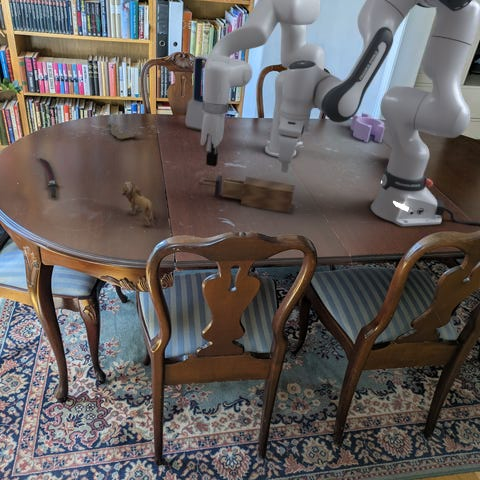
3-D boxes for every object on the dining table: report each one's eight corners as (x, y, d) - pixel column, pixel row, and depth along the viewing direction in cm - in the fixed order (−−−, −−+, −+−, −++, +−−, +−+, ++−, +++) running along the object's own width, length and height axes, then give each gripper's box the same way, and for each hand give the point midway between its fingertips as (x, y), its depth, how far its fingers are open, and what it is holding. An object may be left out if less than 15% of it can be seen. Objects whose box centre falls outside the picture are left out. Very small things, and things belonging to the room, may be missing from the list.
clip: (343, 126, 223) (346, 112, 219) (367, 127, 225) (371, 113, 221) (360, 142, 206) (364, 127, 202) (386, 142, 209) (390, 127, 205)
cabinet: (240, 204, 148) (243, 183, 144) (244, 197, 152) (246, 176, 148) (289, 213, 146) (293, 192, 142) (291, 205, 151) (294, 184, 147)
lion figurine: (118, 210, 138) (116, 182, 133) (132, 204, 141) (131, 177, 137) (151, 229, 130) (150, 201, 126) (165, 223, 134) (165, 195, 129)
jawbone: (125, 144, 181) (124, 139, 180) (93, 130, 191) (92, 125, 190) (143, 137, 187) (142, 132, 185) (111, 123, 197) (110, 119, 196)
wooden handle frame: (197, 193, 150) (198, 177, 147) (201, 188, 153) (201, 172, 150) (259, 204, 147) (261, 188, 144) (261, 198, 151) (263, 182, 148)
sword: (61, 197, 141) (61, 193, 140) (50, 198, 139) (50, 194, 139) (49, 160, 164) (48, 156, 163) (39, 160, 163) (39, 157, 162)
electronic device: (217, 128, 204) (222, 56, 188) (211, 133, 198) (215, 59, 182) (191, 123, 207) (194, 51, 191) (184, 127, 201) (186, 54, 185)
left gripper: (209, 98, 143) (206, 154, 153) (195, 112, 131) (193, 172, 141) (233, 102, 142) (228, 158, 152) (221, 116, 130) (217, 176, 140)
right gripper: (287, 108, 142) (281, 151, 150) (277, 130, 125) (270, 176, 133) (307, 112, 142) (300, 154, 149) (300, 133, 125) (292, 180, 132)
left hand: (211, 164), depth 146 cm, fingers closed
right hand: (286, 165), depth 141 cm, fingers open, 8 cm apart
